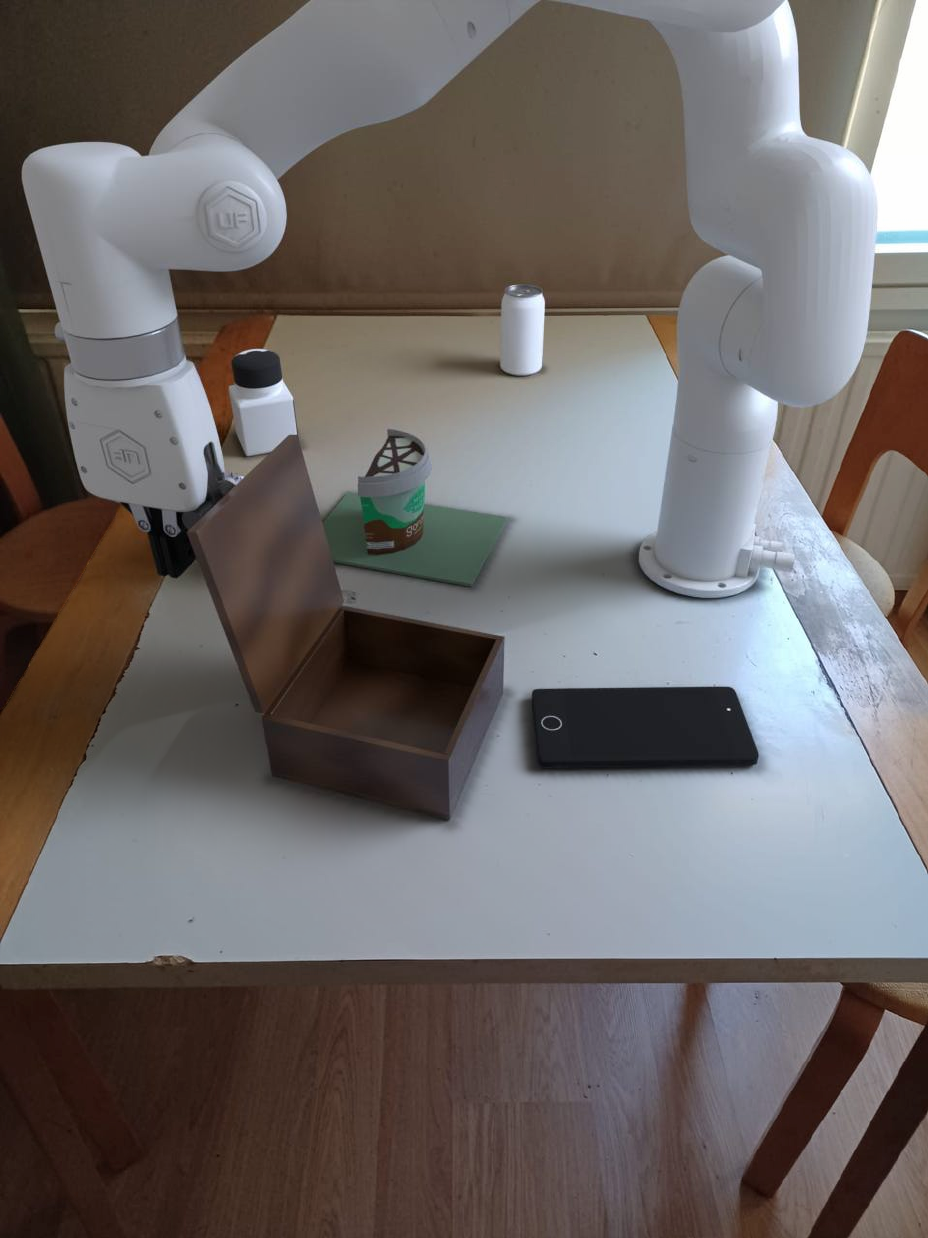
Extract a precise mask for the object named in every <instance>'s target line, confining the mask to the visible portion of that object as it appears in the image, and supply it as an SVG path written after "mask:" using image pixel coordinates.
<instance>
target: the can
mask: <svg viewBox="0 0 928 1238" xmlns="http://www.w3.org/2000/svg"><path fill="white" fill-rule="evenodd" d="M545 301H546V300H545V297H544V295H543V288H541V287H540V286H537V285H534V284H524V283H522V284H513V285H509V286H506V287H505V288H504V293H503V296H502V299H501V305H500V344H499V345H500V346H499V350H500V353H499V356H500V357H499V367H500V369H501V370H502V371H503V372H504V373H506V374H507V375H511V376H516V377H528V376H533V375H535V374H537V373H539V372H540V371H541V369H542V367H543V354H544V353H543V352H544V334H545V333H544V330H545V312H546V311H545V309H546V302H545Z"/></svg>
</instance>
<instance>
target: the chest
mask: <svg viewBox="0 0 928 1238" xmlns="http://www.w3.org/2000/svg"><path fill="white" fill-rule="evenodd" d="M505 641H506V637H505V636H503V635H498V634H494V633H493V634H492V633H488V632H482V631H477V630H472V629H466V628H462V627H456V626H451V625H446V624H441V623H436V622H432V621H427V620H426V621H425V620H419V619H414V618H409V617H404V616H399V615H394V614H388V613H383V612H379V611H373V610H367V609H363V608H357V607H352V606H347V605H343V604H342V605H341V606H340V608H339V609H338V610H337V612H336V613H335V615H334V616H333V617H332V619H331V620H330V622H329V623H328V624H327V626H326V627H325V629H324V630H323V632H322V633H321V634H320V636H319V637H318V639H317V640H316V641H315V643H314V644H313V646H312V647H311V648H310V650H309V651H308V653H307V654H306V655H305V657H304V658H303V660H302V661H301V662H300V664H299V665H298V667H297V668H296V669H295V671H294V672H293V674H292V675H291V676H290V678H289V679H288V681H287V682H286V684H285V685H284V686H283V688H282V689H281V691H280V692H279V693H278V695H277V696H276V698H275V699H274V700H273V702H272V703H271V705H270V706H269V707H268V709H267V710H266V712H265V713H264V714H262V715H261V717H260V721H261V727H262V731H263V738H264V742H265V746H266V752H267V757H268V760H269V761H268V763H269V768H270V772H271V776H272V777H273V778H275V779H279V780H284V781H288V782H292V783H295V784H300V785H305V786H309V787H311V788H312V787H313V788H316V789H320V790H324V791H328V792H332V793H337V794H341V795H344V796H349V797H353V798H357V799H359V800H360V799H361V800H365V801H369V802H373V803H377V804H381V805H385V806H388V807H389V806H390V807H392V808H393V807H394V808H397V809H401V810H405V811H410V812H414V813H417V814H422V815H426V816H430V817H433V818H437V819H442V820H445V821H451V819H452V817H453V814H454V812H455V809H456V807H457V805H458V802H459V800H460V797H461V795H462V793H463V790H464V788H465V785H466V783H467V781H468V778H469V776H470V774H471V771H472V769H473V767H474V764H475V762H476V760H477V757H478V755H479V752H480V750H481V747H482V745H483V742H484V741H485V738H486V735H487V733H488V731H489V728H490V726H491V723H492V721H493V719H494V716H495V714H496V712H497V710H498V707H499V705H500V702H501V700H502V699H503V698H502V697H503V695H504V679H505V678H504V677H505V676H504V675H505V674H504V673H505Z"/></svg>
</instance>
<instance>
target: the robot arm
mask: <svg viewBox="0 0 928 1238" xmlns="http://www.w3.org/2000/svg"><path fill="white" fill-rule="evenodd" d="M539 2H541V0H309V1H307V2H306V3H305V4H304V5H302V6H301V8H299V9H298V10H297V11H296V12H294V14H292V15H291V16H290V17H289V18H287V19H286V20H285V21H284V22H283V23H282V24H280V25H279V26H277V27H276V28H275V29H273V30H271V32H269V33H268V34H267V35H265V36H264V37H263V38H261V39H260V40H259V41H258V42H256V43H255V44H254V45H252V46H251V47H249V48H248V49H247V50H246V51H245V52H243V53H242V54H241V55H239V57H237V58H236V59H235V60H234V61H233V62H232V63H230V64H229V65H228V66H227V67H226V68H225V69H223V71H221V72H220V73H219V74H217V76H216V77H215V78H214V79H212V81H210V83H208V84H207V85H206V86H205V87H204V88H203V89H202V90H201V91H200V92H199V93H197V94H196V96H195V97H194V98H192V100H190V101H189V102H188V103H187V104H186V105H185V106H184V107H183V108H182V109H180V111H179V112H178V113H177V114H176V115H175V116H174V117H172V119H170V120H169V122H168V123H167V124H165V126H164V127H163V128H162V129H161V130H160V132H159V134H158V135H157V136H156V137H155V140H154V142H153V144H152V145H151V148H150V150H149V153H148V155H141V154H140V153H139V152H138V151H137V150H135V149H134V148H132V147H130V146H128V145H125V144H120V143H117V142H116V143H115V142H108V141H107V142H105V141H82V142H80V141H79V142H69V143H68V142H67V143H61V144H56V145H55V144H54V145H51V146H46V147H41V148H39V149H37V150H36V151H33V152H32V153H30V154H29V155H28V156H27V158H25V160H24V161H23V164H22V167H21V182H22V186H23V192H24V195H25V200H26V202H27V207H28V209H29V213H30V217H31V221H32V224H33V228H34V232H35V235H36V240H37V243H38V247H39V250H40V253H41V258H42V261H43V264H44V268H45V272H46V275H47V279H48V282H49V287H50V290H51V295H52V297H53V301H54V304H55V309H56V311H57V312H56V313H57V315H58V320H59V322H57V323H56V324H55V326H54V335H55V338H56V340H57V341H59V342H62V343H65V345H66V348H67V352H68V357H69V359H70V362H69V363H68V364H66V366H65V367H64V369H63V389H64V403H65V404H64V405H65V411H66V419H67V420H66V421H67V425H68V430H69V435H70V439H71V440H70V441H71V445H72V451H73V454H74V458H75V463H76V466H77V467H76V468H77V470H78V473H79V474H78V475H79V478H80V480H81V482H82V485H83V487H84V489H85V490H86V491H87V492H88V493H89V494H92V495H93V496H95V497H98V498H100V499H104V500H108V501H112V502H115V503H118V504H121V505H122V507H123V508H125V509H126V511H128V512H129V513H130V514H131V515H132V516H133V518H134V520H135V523H136V525H137V528H138V529H139V530H140V531H141V532H145V533H146V534H147V537H148V541H149V546H150V549H151V554H152V557H153V560H154V565H155V569H156V572H157V575H158V576H162V577H167V576H169V577H170V578H172V579H178V578H180V577H181V576H182V575H183V574H184V573H185V572H186V571H187V570H188V569H189V568H190V567H191V566H192V565H193V564H194V563H195V561H196V560H197V558H196V555H195V553H194V550H193V547H192V545H191V542H190V540H189V537H188V534H187V531H188V529H187V528H186V527H185V525H184V524H183V521H182V516H183V513H184V512H190V511H194V510H196V509H197V508H198V507H199V506H200V505H201V504H202V503H203V502H204V501H205V499H207V500H209V501H211V502H212V503H213V504H214V505H216V504H217V503H218V502H219V501H220V500H221V499H222V498H223V497H224V494H223V492H222V490H221V487H220V486H222V485H223V484H224V482H225V474H226V471H225V470H226V469H225V463H224V456H223V451H222V447H221V442H220V437H219V434H218V431H217V426H216V423H215V418H214V415H213V412H212V408H211V405H210V403H209V400H208V399H209V398H208V396H207V394H206V391H205V388H204V386H203V383H202V380H201V377H200V375H199V373H198V369H196V366H195V364H194V362H193V361H191V360H187V357H186V351H185V346H184V341H183V335H182V330H181V326H180V319H179V315H178V311H177V307H176V300H175V295H174V290H173V286H172V280H171V274H170V270H183V271H201V272H237V271H241V270H245V269H249V268H252V267H255V266H256V265H258V264H260V263H262V262H264V261H265V260H267V259H268V258H269V257H270V256H271V255H272V254H273V253H274V252H275V251H276V249H277V248H278V247H279V245H280V243H281V241H282V239H283V237H284V234H285V231H286V226H287V219H288V213H287V202H286V198H285V195H284V192H283V189H282V186H281V185H280V183H279V181H278V180H279V179H280V178H281V177H282V176H284V175H285V174H286V173H287V172H288V171H290V169H292V167H294V166H295V165H297V163H298V162H300V161H301V160H302V159H304V158H305V157H306V156H308V155H309V154H310V153H312V152H313V151H315V150H316V149H318V147H320V146H322V145H324V144H325V143H327V142H329V141H330V140H332V139H334V138H337V137H338V136H341V135H342V134H345V133H347V132H350V131H352V130H356V129H359V128H362V127H366V126H371V125H377V124H380V123H384V122H388V121H392V120H394V119H397V118H399V117H403V116H404V115H406V114H409V113H412V112H414V111H416V110H418V109H420V108H421V107H423V106H424V105H426V104H427V103H428V102H429V101H430V100H431V99H433V98H434V97H435V96H436V95H437V94H438V93H439V92H441V90H442V89H443V88H444V87H445V86H446V85H448V84H449V83H450V82H451V81H453V79H454V78H455V77H456V76H457V75H458V74H460V73H461V71H463V70H464V69H465V68H466V67H467V66H468V65H469V64H470V63H472V62H473V61H474V60H475V59H476V58H477V57H479V55H480V54H481V53H483V51H485V50H486V49H487V48H488V47H489V46H490V45H491V44H492V43H493V42H494V41H496V40H497V39H498V38H499V37H500V36H501V35H502V34H503V33H505V31H507V30H508V29H509V28H510V27H511V26H513V24H515V23H516V22H517V21H518V20H519V19H520V18H521V17H522V16H523V15H524V14H525V13H527V12H528V11H529V10H530V9H531V8H532V7H533V6H535V5H536V4H537V3H539ZM548 2H556V3H564V4H570V5H576V6H580V7H585V8H590V9H593V10H598V11H603V12H608V13H611V14H612V13H613V14H617V15H622V16H626V17H631V18H637V19H642V20H646V21H648V23H650V24H651V25H652V26H653V27H654V28H655V29H656V30H657V32H658V33H659V34H660V35H661V37H662V38H663V40H664V41H665V43H666V45H667V47H668V48H669V51H670V52H671V56H672V57H673V60H674V62H675V66H676V70H677V73H678V78H679V83H680V92H681V102H682V107H683V109H682V110H683V131H684V150H685V153H684V154H685V173H686V176H685V177H686V192H687V193H686V194H687V195H686V196H687V197H686V198H687V209H688V216H689V221H690V224H691V227H692V229H693V230H694V233H695V234H696V235H697V236H698V237H699V238H700V239H701V240H702V241H703V242H704V243H706V244H708V245H709V246H710V247H712V248H714V249H716V250H718V251H719V252H722V253H724V254H726V255H723V256H720V257H717V258H714V259H712V260H711V261H709V262H707V263H706V264H705V265H703V266H702V267H700V268H699V269H698V270H697V271H696V273H694V275H692V277H691V279H690V280H689V281H688V282H687V285H686V287H685V289H684V290H683V292H682V295H681V299H680V302H679V305H678V312H677V317H676V343H677V344H676V345H677V367H678V368H677V370H678V371H677V372H678V373H677V388H676V397H675V398H676V399H675V406H674V413H673V419H672V427H671V433H670V440H669V446H668V453H667V461H666V468H665V474H664V480H663V488H662V493H661V502H660V508H659V515H658V516H659V517H658V523H657V528H656V529H657V530H656V531H655V532H653V533H652V534H649V535H648V536H647V537H646V538H645V539H644V540H643V541H642V543H641V544H640V547H639V552H638V563H639V567H640V569H641V570H642V572H643V573H644V574H645V575H646V577H648V578H649V579H650V580H651V581H652V582H654V583H655V584H656V585H658V586H660V587H662V588H664V589H665V590H668V591H671V592H674V593H676V594H679V595H683V596H687V597H693V598H701V599H719V598H726V597H727V598H728V597H731V596H734V595H737V594H740V593H742V592H745V591H746V590H748V589H749V588H751V587H752V586H753V585H754V584H755V582H757V579H758V577H759V574H760V570H761V568H766V569H771V570H774V571H779V572H786V573H792V572H793V567H794V562H795V557H796V556H795V553H792V552H784V551H782V550H783V544H784V542H783V541H778V540H766V539H761V536H758V535H755V534H756V527H757V524H756V522H755V521H756V516H757V511H758V508H759V507H758V506H759V503H760V499H761V498H760V497H761V493H762V488H763V485H764V479H765V475H766V471H767V467H768V461H769V457H770V453H771V448H772V445H773V444H772V443H773V440H774V435H775V431H776V428H777V427H776V426H777V420H778V412H779V411H778V410H779V404H782V405H784V406H788V407H793V408H810V407H814V406H818V405H821V404H823V403H825V402H828V401H829V400H831V399H832V398H833V397H835V396H836V395H837V394H839V393H840V391H842V390H843V389H844V388H845V386H846V385H847V384H848V383H849V381H850V379H851V378H852V377H853V375H854V374H855V372H856V369H857V368H858V365H859V363H860V361H861V358H862V356H863V351H864V347H865V344H866V341H867V340H866V339H867V335H868V329H869V321H870V320H869V318H870V310H871V300H872V289H873V288H872V287H873V279H874V278H873V277H874V268H875V267H874V266H875V256H876V244H877V232H878V215H879V214H878V212H879V211H878V198H877V192H876V189H875V188H876V187H875V185H874V181H873V178H872V176H871V174H870V172H869V169H868V168H867V166H866V165H865V163H864V162H863V161H862V160H861V159H860V157H859V156H857V154H855V153H854V152H852V151H851V150H849V149H847V148H845V147H844V146H842V145H840V144H836V143H834V142H830V141H827V140H823V139H820V138H816V137H813V136H812V137H811V136H809V135H807V134H806V133H805V131H804V130H803V127H802V122H801V113H800V75H799V74H800V73H799V49H798V48H799V45H798V36H797V30H796V24H795V20H794V16H793V11H792V9H791V5H790V2H789V0H548Z"/></svg>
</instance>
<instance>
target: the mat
mask: <svg viewBox="0 0 928 1238" xmlns="http://www.w3.org/2000/svg"><path fill="white" fill-rule="evenodd" d="M507 521H508V517H507V516H502V515H496V514H489V513H484V512H483V513H482V512H477V511H472V510H471V511H470V510H465V509H464V510H463V509H459V508H451V507H445V506H440V505H432V504H426V503H424V524H423V535H422V537H421V539H420V540H419V541H418V542H417V543H416V544H415V545H413V546H411V547H409V548H407V549H405V550H402V551H399V552H395V553H391V554H380V555H375V554H368V552H367V545H366V537H365V529H364V522H363V514H362V506H361V499H360V497H358V492H357V493H356V492H350V491H348V492H347V493H345V495H344V496H343V497H342V499H341V500H340V501H339V502H338V503H337V505H336V506H335V507H334V508H333V509H332V511H331V512H330V513H329V514H328V516H327V517H326V518H325V519H324V520H323V521H322V524H323V527H324V531H325V535H326V538H327V542H328V545H329V549H330V552H331V556H332V559H333V563H334V564H335V563H336V564H342V565H348V566H353V567H359V568H364V569H370V570H374V571H380V572H386V573H391V574H392V573H393V574H398V575H402V576H408V577H413V578H420V579H425V580H432V581H437V582H442V583H448V584H453V585H459V586H463V587H470V588H472V587H473V586H474V583H475V581H476V579H477V578H478V576H479V574H480V572H481V571H482V569H483V566H484V565H485V562H486V561H487V559H488V557H489V556H490V553H491V552H492V550H493V548H494V546H495V544H496V542H497V541H498V538H499V536H500V535H501V533H502V531H503V529H504V527H505V526H506V524H507Z"/></svg>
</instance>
